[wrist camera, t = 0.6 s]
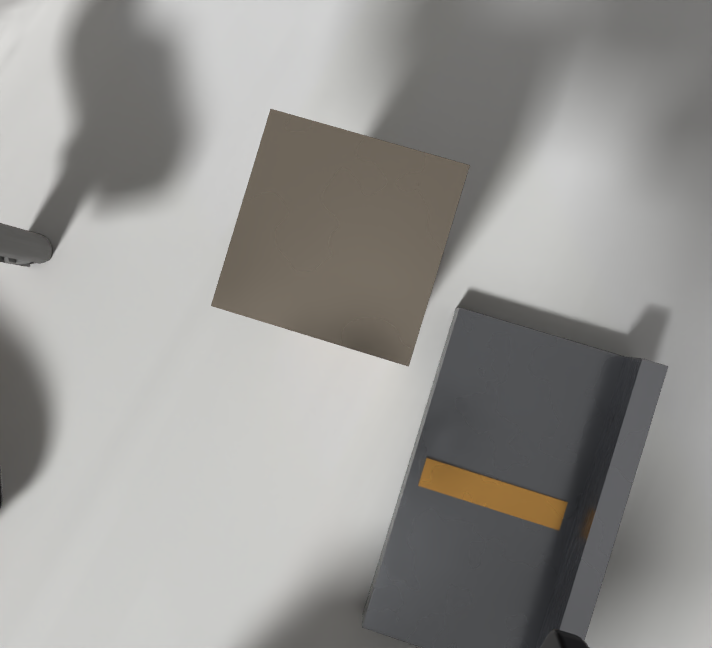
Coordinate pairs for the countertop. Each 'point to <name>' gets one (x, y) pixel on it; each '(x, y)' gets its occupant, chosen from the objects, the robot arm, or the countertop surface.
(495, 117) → the countertop surface
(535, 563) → the plate
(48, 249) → the grey t-shaped piece
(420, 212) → the block
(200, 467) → the countertop surface
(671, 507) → the countertop surface
